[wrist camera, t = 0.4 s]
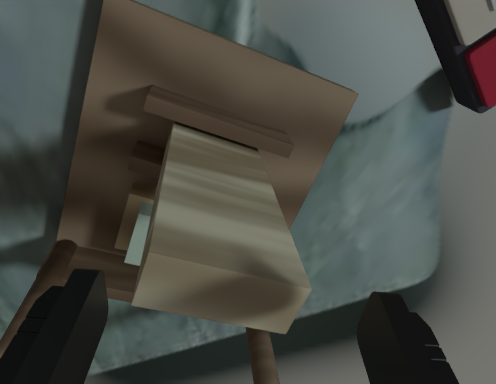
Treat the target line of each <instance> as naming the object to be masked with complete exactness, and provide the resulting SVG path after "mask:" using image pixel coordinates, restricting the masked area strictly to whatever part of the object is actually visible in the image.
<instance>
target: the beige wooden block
mask: <svg viewBox="0 0 496 384" xmlns="http://www.w3.org/2000/svg"><path fill="white" fill-rule="evenodd" d="M311 290H312V288H311V286H310V283H309V280H308V278H307V275H306V273H305V270H304V268H303V265H302V262H301V260H300V257H299V255H298V252H297V249H296V247H295V244H294V242H293V239H292V237H291V234H290V231H289V229H288V226H287V224H286V221H285V219H284V216H283V213H282V211H281V208H280V206H279V203H278V201H277V198H276V195H275V193H274V190H273V188H272V185H271V183H270V180H269V177H268V175H267V172H266V170H265V167H264V165H263V162H262V159H261V157H260V154H259V152H258V149H257V148H255V147H252V146H249V145H246V144H243V143H240V142H237V141H234V140H231V139H228V138H225V137H222V136H219V135H216V134H213V133H210V132H207V131H204V130H201V129H198V128H195V127H192V126H189V125H185V124H182V123H179V122H176V121H173V124H172V127H171V131H170V134H169V137H168V140H167V144H166V148H165V153H164V157H163V162H162V167H161V171H160V176H159V180H158V185H157V190H156V194H155V199H154V203H153V208H152V213H151V217H150V222H149V226H148V231H147V236H146V240H145V245H144V250H143V254H142V259H141V263H140V268H139V273H138V277H137V282H136V286H135V291H134V296H133V300H132V305H131V306H136V307H142V308H147V309H152V310H158V311H163V312H169V313H174V314H179V315H185V316H190V317H196V318H201V319H206V320H212V321H217V322H223V323H228V324H233V325H239V326H244V327H249V328H255V329H260V330H266V331H271V332H276V333H282V334H286V332H287V331H288V329H289V327H290V326H291V324H292V322H293V321H294V319H295V317H296V316H297V314H298V312H299V310H300V309H301V307H302V305H303V304H304V302H305V300H306V299H307V297H308V295H309V293H310V292H311Z"/></svg>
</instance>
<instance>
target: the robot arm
mask: <svg viewBox="0 0 496 384" xmlns="http://www.w3.org/2000/svg"><path fill="white" fill-rule="evenodd" d="M107 316H108V298H107V290H106V282H105V274H104V271H103V270H94V269H80V268H76V269H74V270H73V271H72V273H71V275H70V276H69V278H68V280H67V282H66V284H65V286H51V287H50V288H49V289H48V290H47V291H46V292H44V293H43V294H42V295H41V296H40V297H38V298H37V299H36V300H35V302H34V304H33V305H32V307H31V309H30V310H29V312H28V314H27V315H26V319H25V320H23V322H22V324H21V325H20V327H19V329H18V330H17V334H16V335H14V337H13V338H12V340H11V342H10V343H9V345H8V347H7V348H6V350H5V352H4V353H3V355H2V357H1V358H0V384H84V382H85V379H86V376H87V374H88V371H89V368H90V366H91V363H92V360H93V358H94V355H95V352H96V349H97V347H98V344H99V341H100V339H101V336H102V333H103V331H104V328H105V325H106V321H107ZM357 340H358V345H359V348H360V352H361V355H362V358H363V362H364V365H365V368H366V372H367V375H368V378H369V382H370V384H459V382H458V380H457V379H456V376H455V375H454V373H453V371H452V369H451V367H450V365H449V363H448V362H446V357H445V355H444V353H443V351H442V349H441V348H439V344H438V341H437V339H436V338H435V335H434V334H433V332H432V330H431V328H430V327H429V326H428V324H426V322H425V321H424V320H423V319H422V318H421V317H420V316H419V315H418V314H417V313H415V312H409V310H408V308H407V306H406V304H405V302H404V300H403V298H402V296H401V295H400V294H398V293H387V292H372V293H371V295H370V297H369V299H368V301H367V304H366V306H365V309H364V311H363V313H362V315H361V318H360V320H359V322H358V326H357Z"/></svg>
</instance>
